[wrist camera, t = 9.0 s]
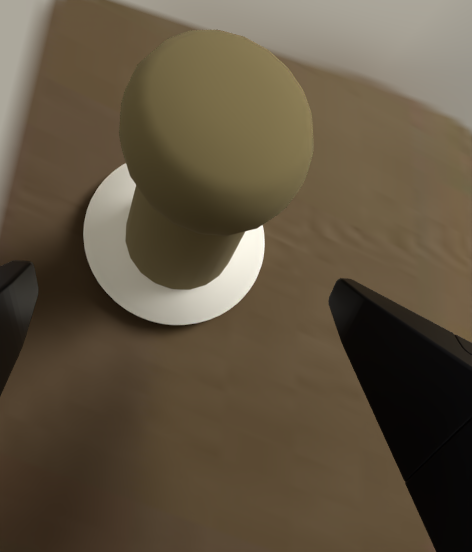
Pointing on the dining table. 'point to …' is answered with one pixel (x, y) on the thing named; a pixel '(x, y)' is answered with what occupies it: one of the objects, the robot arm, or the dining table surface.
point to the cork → (208, 152)
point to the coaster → (141, 290)
